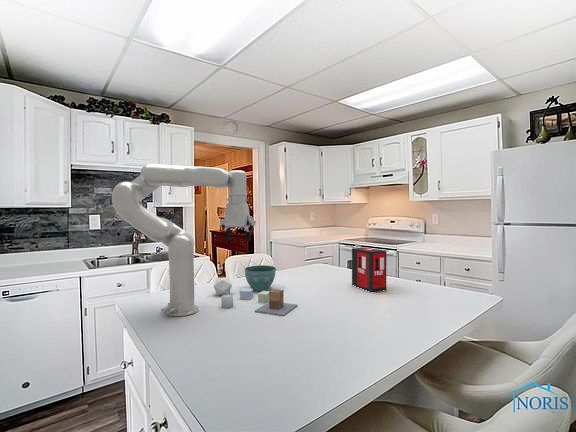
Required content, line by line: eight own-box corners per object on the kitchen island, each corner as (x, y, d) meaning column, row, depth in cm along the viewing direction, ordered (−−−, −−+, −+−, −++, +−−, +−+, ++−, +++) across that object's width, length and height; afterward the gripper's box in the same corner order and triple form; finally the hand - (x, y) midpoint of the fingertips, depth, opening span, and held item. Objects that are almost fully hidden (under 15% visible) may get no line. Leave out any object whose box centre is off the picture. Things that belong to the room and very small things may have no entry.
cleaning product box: (386, 290, 163) (386, 251, 162) (372, 293, 159) (372, 252, 158) (365, 283, 178) (365, 247, 177) (351, 285, 174) (351, 248, 173)
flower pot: (271, 294, 158) (271, 271, 158) (240, 292, 162) (240, 270, 161) (279, 286, 174) (279, 265, 174) (250, 284, 177) (250, 265, 177)
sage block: (266, 303, 144) (265, 294, 143) (258, 302, 145) (258, 293, 145) (271, 300, 148) (271, 291, 148) (263, 299, 150) (263, 290, 150)
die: (225, 299, 152) (236, 280, 156) (208, 290, 152) (220, 271, 156) (225, 300, 160) (235, 282, 164) (209, 292, 160) (220, 274, 164)
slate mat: (283, 316, 126) (283, 314, 126) (254, 312, 131) (254, 310, 131) (297, 305, 139) (297, 304, 139) (270, 302, 144) (270, 301, 144)
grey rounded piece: (229, 308, 136) (229, 298, 136) (219, 307, 138) (219, 297, 138) (235, 305, 140) (235, 295, 140) (226, 304, 142) (225, 294, 142)
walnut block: (279, 309, 132) (279, 292, 132) (269, 308, 134) (269, 291, 134) (283, 306, 136) (283, 289, 136) (273, 305, 138) (273, 288, 138)
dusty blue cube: (250, 300, 149) (250, 291, 149) (239, 299, 149) (239, 291, 149) (253, 297, 154) (253, 288, 154) (242, 296, 154) (242, 288, 154)
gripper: (215, 200, 137) (215, 240, 137) (250, 199, 130) (251, 242, 130) (225, 200, 144) (226, 239, 144) (259, 200, 137) (260, 240, 137)
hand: (237, 240), depth 137 cm, fingers open, 9 cm apart
